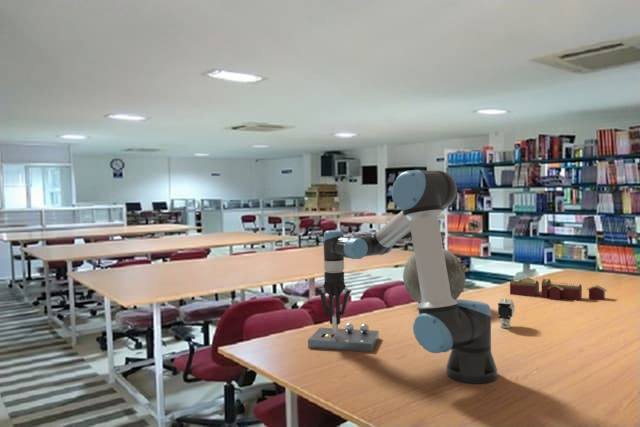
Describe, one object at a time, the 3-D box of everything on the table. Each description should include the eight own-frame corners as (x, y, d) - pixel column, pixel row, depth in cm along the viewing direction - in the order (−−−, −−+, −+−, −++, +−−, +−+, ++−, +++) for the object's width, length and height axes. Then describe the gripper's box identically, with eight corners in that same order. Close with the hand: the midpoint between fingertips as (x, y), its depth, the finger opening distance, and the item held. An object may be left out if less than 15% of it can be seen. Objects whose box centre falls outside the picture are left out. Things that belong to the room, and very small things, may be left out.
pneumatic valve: (497, 330, 198) (497, 301, 198) (501, 323, 208) (501, 295, 208) (512, 331, 196) (512, 302, 195) (515, 324, 206) (515, 296, 205)
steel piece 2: (368, 334, 186) (367, 325, 186) (359, 333, 187) (359, 324, 187) (369, 331, 190) (369, 323, 189) (361, 331, 190) (360, 322, 190)
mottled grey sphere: (391, 307, 243) (390, 247, 242) (428, 297, 262) (427, 243, 261) (440, 317, 220) (440, 252, 219) (477, 306, 239) (476, 246, 238)
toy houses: (508, 295, 265) (508, 277, 264) (518, 289, 281) (518, 272, 281) (603, 305, 238) (603, 285, 238) (607, 298, 254) (608, 279, 254)
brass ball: (332, 338, 183) (324, 334, 184) (329, 346, 184) (321, 342, 184) (334, 335, 187) (326, 331, 187) (331, 343, 187) (323, 339, 188)
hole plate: (371, 352, 174) (371, 343, 174) (308, 347, 181) (307, 339, 180) (378, 338, 190) (378, 330, 190) (320, 334, 197) (320, 327, 197)
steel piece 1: (352, 333, 188) (352, 324, 188) (344, 332, 189) (344, 324, 189) (354, 330, 191) (354, 322, 191) (346, 330, 192) (345, 321, 192)
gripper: (352, 270, 185) (354, 330, 186) (320, 269, 189) (321, 328, 190) (348, 273, 178) (349, 336, 179) (314, 272, 182) (316, 334, 182)
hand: (335, 332), depth 184 cm, fingers closed
